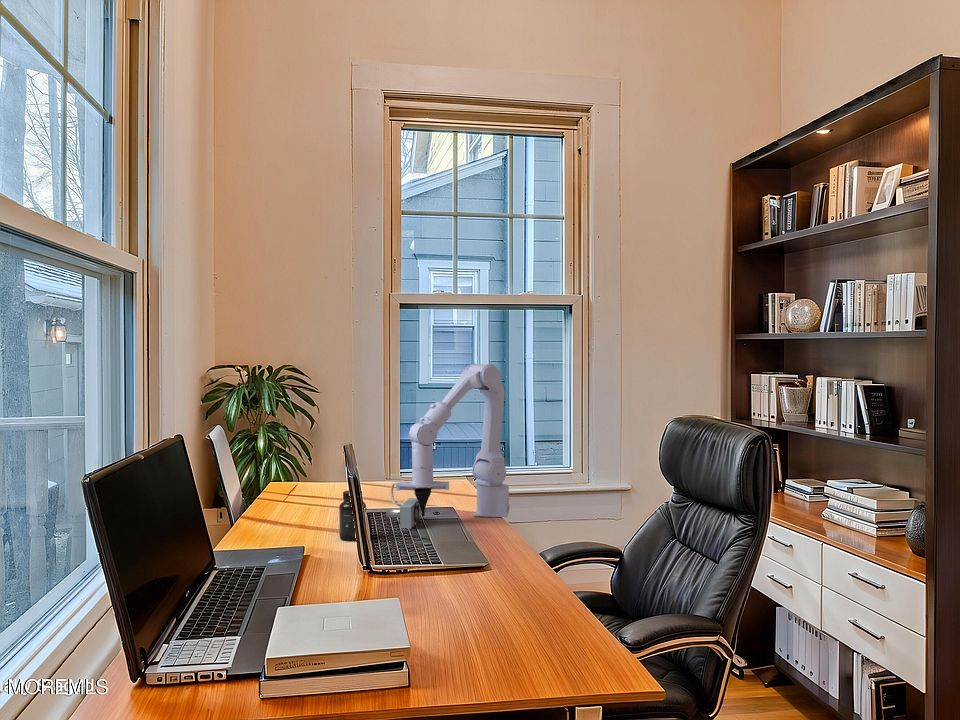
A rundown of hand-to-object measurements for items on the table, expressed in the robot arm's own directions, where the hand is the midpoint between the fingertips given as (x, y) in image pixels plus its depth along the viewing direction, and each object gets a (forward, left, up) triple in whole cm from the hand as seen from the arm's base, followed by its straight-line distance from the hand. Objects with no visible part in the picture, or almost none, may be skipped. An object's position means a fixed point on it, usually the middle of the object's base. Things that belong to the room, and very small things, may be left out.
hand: (423, 515), depth 202 cm
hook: (+11, -20, -3) cm, 23 cm away
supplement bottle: (+15, +16, -3) cm, 22 cm away
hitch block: (+4, 0, -2) cm, 4 cm away
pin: (+6, 0, -2) cm, 6 cm away
